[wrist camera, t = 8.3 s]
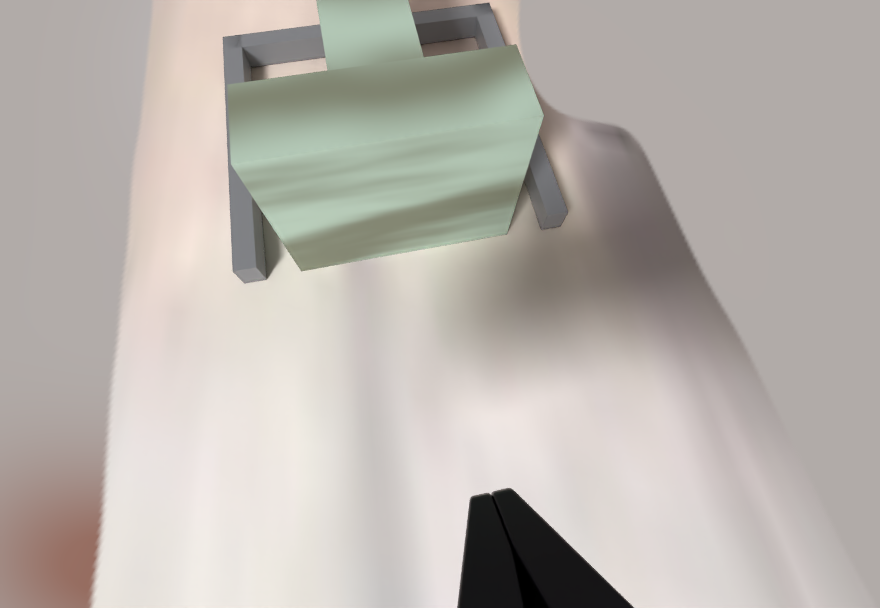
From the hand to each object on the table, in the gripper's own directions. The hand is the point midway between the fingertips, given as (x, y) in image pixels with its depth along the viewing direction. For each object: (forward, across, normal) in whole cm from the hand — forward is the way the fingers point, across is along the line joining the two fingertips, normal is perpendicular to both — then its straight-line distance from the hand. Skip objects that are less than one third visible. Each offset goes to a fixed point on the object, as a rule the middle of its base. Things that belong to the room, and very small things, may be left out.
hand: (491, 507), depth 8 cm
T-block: (+23, 0, -5) cm, 23 cm away
